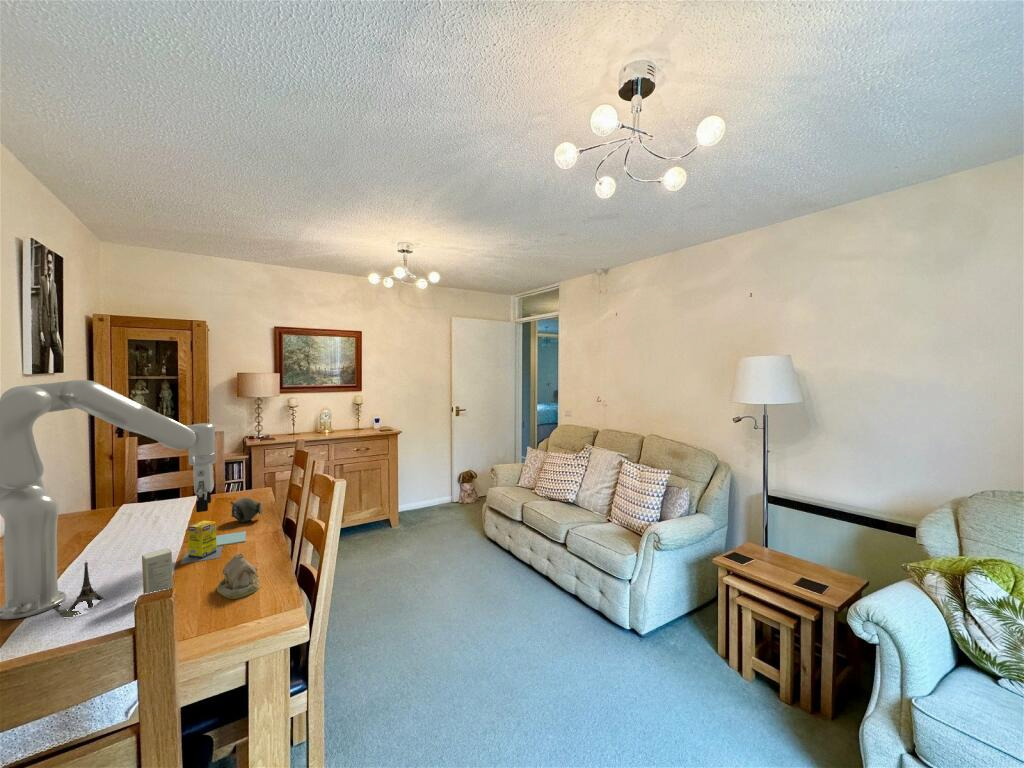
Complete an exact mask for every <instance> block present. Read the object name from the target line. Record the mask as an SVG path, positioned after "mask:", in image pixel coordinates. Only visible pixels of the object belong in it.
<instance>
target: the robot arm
mask: <svg viewBox="0 0 1024 768" xmlns="http://www.w3.org/2000/svg"><path fill="white" fill-rule="evenodd" d="M73 409H78V410H80V411H83V412H85V413H87V414H88V415H91V416H93V417H96V418H98V419H101V420H102V421H104V422H107V423H109V424H111V425H113V426H115V427H118V428H120V429H123V430H126V431H128V432H131V433H135V434H140V435H142V436H145V437H147V438H150V439H152V440H155V441H157V442H158V443H159V444H160V446H162V447H165V448H168V449H172V450H175V451H185V450H188V465H189V466H193V471H192V472H193V475H192V476H193V477H192V478H193V491H194V494H195V495H196V500H195V508H196V509H195V510H196V513H203V512H207V511H209V504H211V502H212V491H213V490H214V488H215V482H214V481H215V479H214V466H213V464H215V463H216V461H217V460H216V434H215V426H214V425H213V424H212V423H209V422H205V423H202V422H201V423H195V424H191V425H190V424H189V425H187V424H186V425H184V424H183V423H180V422H178V421H176V420H174V419H173V418H170V417H168V416H166V415H163V414H161V413H159V412H157V411H155V410H153V409H151V408H149V407H147V406H145V405H143V404H141V403H139V402H137V401H135V400H133V399H131V398H128V397H126V396H125V395H123V394H121V393H119V392H117V391H115V390H113V389H111V388H108V387H106V386H105V385H103V384H101V383H99V382H96V381H94V380H89V379H88V380H86V379H75V380H67V381H60V382H59V381H58V382H48V383H47V382H46V383H40V384H39V383H38V384H27V385H18V386H14V387H11V388H9V389H7V390H5V391H4V392H3V393H2V394H1V396H0V516H1V517H2V518H3V522H4V528H3V529H4V533H3V534H4V535H3V557H4V558H3V559H4V560H3V561H4V563H3V564H4V595H5V596H4V597H5V598H4V601H5V603H4V605H2V606H0V620H15V619H21V618H25V617H30V616H33V615H38V614H40V613H43V612H45V611H48V610H51V609H53V607H55V606H57V605H59V604H60V603H64V601H65V600H66V598H67V594H66V593H65V591H61V590H58V588H59V587H58V586H59V585H58V542H57V538H58V536H57V535H58V534H57V531H58V519H59V505H58V503H57V500H56V499H55V497H53V495H51V494H50V493H48V492H47V491H46V489H45V486H44V482H43V479H42V477H43V475H44V464H43V462H42V460H41V457H40V455H39V451H38V448H37V445H36V442H35V437H34V431H33V429H34V428H33V427H34V424H35V422H36V421H37V420H38V419H39V418H40V417H42V416H43V415H45V414H46V413H52V412H53V413H54V412H59V411H60V412H61V411H66V410H73Z"/></svg>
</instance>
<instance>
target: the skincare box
mask: <svg viewBox="0 0 1024 768" xmlns="http://www.w3.org/2000/svg"><path fill="white" fill-rule="evenodd" d="M172 554H173V553H172V551H171V549H170V548H168V547H167V548H163V549H160V550H156V551H152V552H148V553H144V554H142V555H141V565H142V566H141V569H142V570H141V571H142V590H143V595H144V594H145V593H150V592H154V591H159V590H163V589H168V588H172V589H173V590H174V581H173V580H174V578H173V577H174V575H173V555H172Z"/></svg>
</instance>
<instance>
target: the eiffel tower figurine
mask: <svg viewBox="0 0 1024 768" xmlns="http://www.w3.org/2000/svg"><path fill="white" fill-rule="evenodd" d="M88 564H89V563H88V561H85V562H84V563H83V565H84V573H83V581H82V587H81V590H80V592H79V594H78V596H76V600H75V601H74V603H73V604H72V605H71V607H70V608H69V610H68V611H67V610H66V609H67V608H66V609H65V608H64V609H60V607H62V606H61V605H57V606H55V607H53V608H52V609H53V610H54V611H55V612H56V613H57V614H58V615H60V617H62V618H63V617H73V615H75V616H76V615H78V613H77V612H79V611H72V610H73V609H75V606H76V605H77V604H78V603H79V602H83V601H86V602H87V604H88V608H90V609H93V608H94V607H93V603H92V600H93V598H94V599H98V600H102V599H103V598H104V597H102V596H101V595H100V594H98V593H97V590H94V589H93V587H92V584H91V582H90V575H89V569H88V568H89V567H88ZM103 600H104V599H103ZM103 600H102V601H103ZM92 607H93V608H92ZM75 613H76V614H75ZM79 614H81V613H80V612H79ZM73 618H74V617H73Z"/></svg>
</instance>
